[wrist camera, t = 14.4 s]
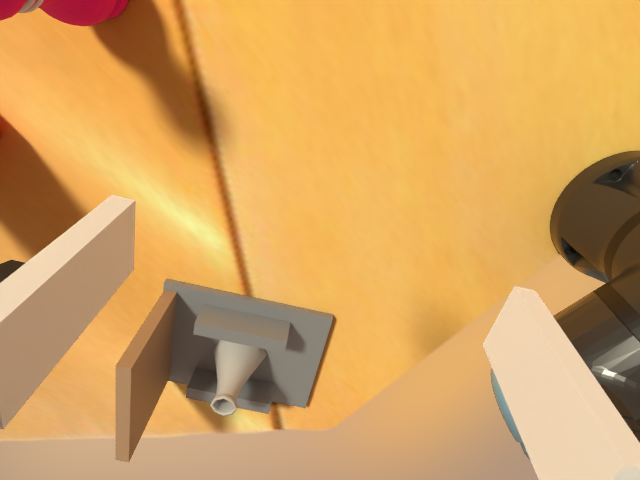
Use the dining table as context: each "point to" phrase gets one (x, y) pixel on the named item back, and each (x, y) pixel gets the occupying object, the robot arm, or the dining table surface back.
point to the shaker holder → (198, 353)
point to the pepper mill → (67, 9)
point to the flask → (233, 373)
